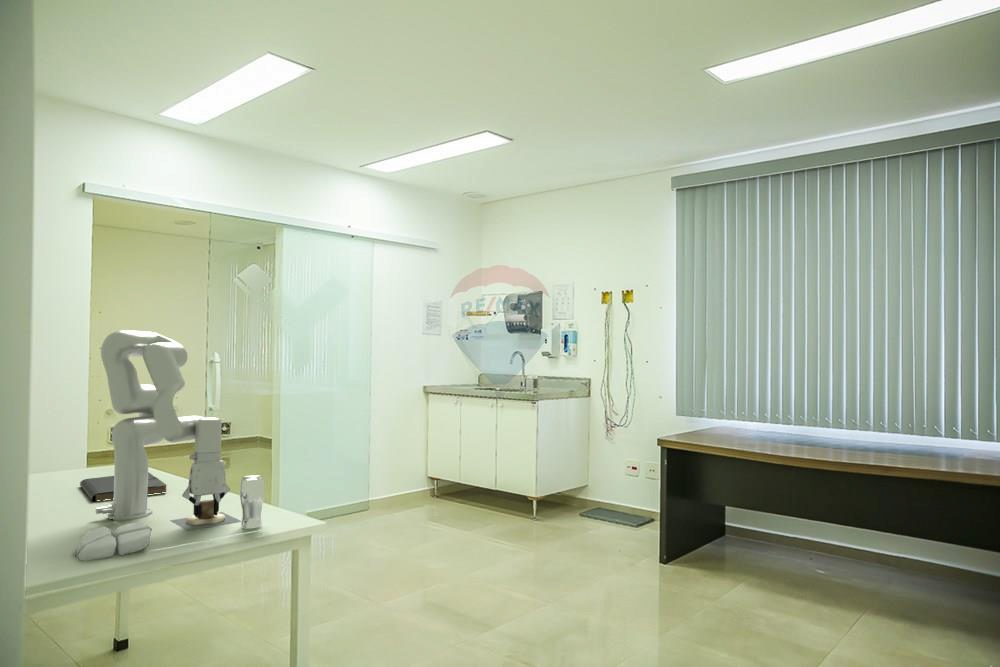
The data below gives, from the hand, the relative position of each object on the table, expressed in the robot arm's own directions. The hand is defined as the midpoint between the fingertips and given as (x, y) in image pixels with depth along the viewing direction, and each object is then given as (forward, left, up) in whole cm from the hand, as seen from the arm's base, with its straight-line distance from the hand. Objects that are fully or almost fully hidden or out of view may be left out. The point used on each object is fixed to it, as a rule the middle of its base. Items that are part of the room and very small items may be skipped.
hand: (206, 515), depth 199 cm
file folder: (-6, +69, -3) cm, 69 cm away
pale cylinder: (+8, -15, -2) cm, 17 cm away
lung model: (-28, -7, -3) cm, 29 cm away
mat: (0, 0, -2) cm, 2 cm away
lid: (0, 0, -2) cm, 2 cm away
